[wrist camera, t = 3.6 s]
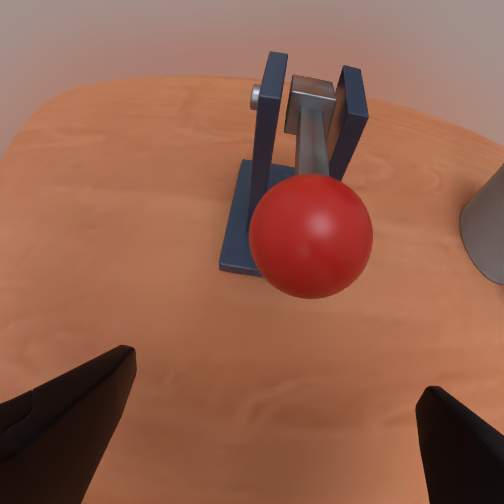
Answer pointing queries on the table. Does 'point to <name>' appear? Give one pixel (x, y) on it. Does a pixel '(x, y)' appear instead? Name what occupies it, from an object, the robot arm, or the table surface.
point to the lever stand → (268, 175)
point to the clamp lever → (310, 209)
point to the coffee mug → (486, 228)
